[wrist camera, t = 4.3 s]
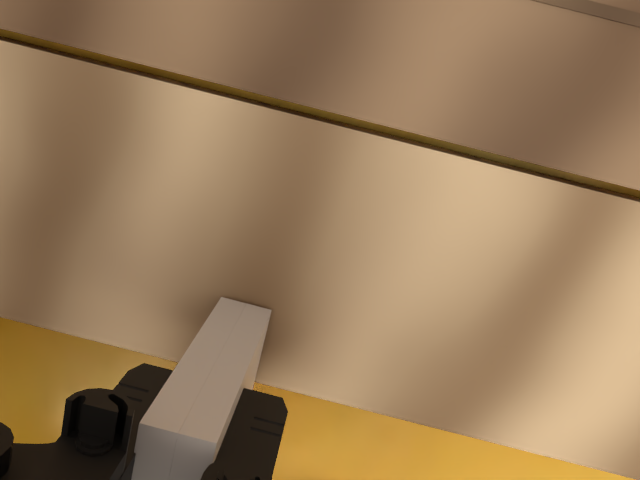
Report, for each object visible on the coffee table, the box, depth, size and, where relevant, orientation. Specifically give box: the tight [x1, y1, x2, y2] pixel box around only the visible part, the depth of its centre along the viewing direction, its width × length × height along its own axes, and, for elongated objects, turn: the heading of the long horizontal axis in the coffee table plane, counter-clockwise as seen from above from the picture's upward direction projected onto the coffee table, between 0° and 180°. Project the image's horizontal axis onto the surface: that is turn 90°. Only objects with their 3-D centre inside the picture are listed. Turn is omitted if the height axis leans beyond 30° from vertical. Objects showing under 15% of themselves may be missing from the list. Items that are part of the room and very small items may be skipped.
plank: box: [0, 36, 640, 480], centre depth 18 cm, size 28×8×2 cm, turn 77°
